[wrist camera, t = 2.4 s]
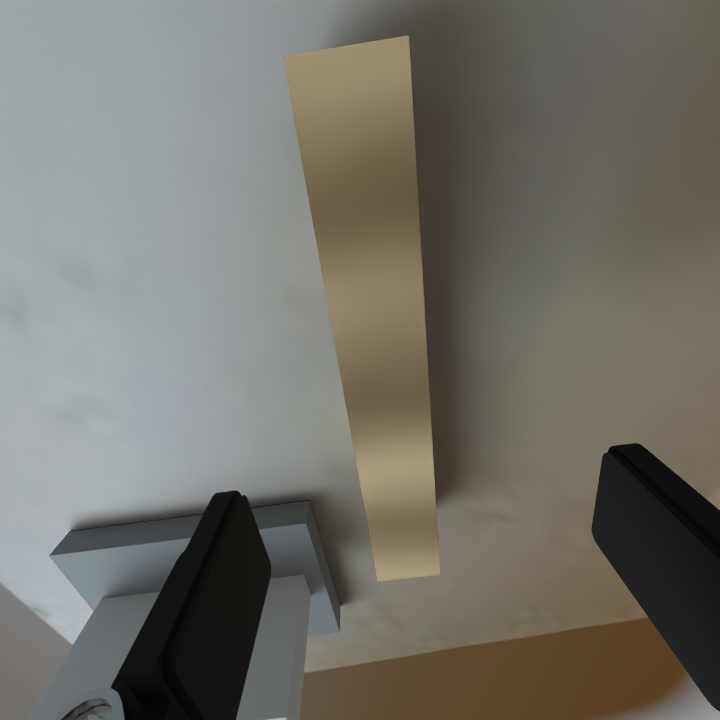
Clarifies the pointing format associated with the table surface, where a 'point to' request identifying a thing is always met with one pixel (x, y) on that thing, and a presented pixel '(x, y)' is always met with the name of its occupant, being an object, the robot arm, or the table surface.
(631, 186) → the table surface
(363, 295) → the rod
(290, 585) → the fulcrum
